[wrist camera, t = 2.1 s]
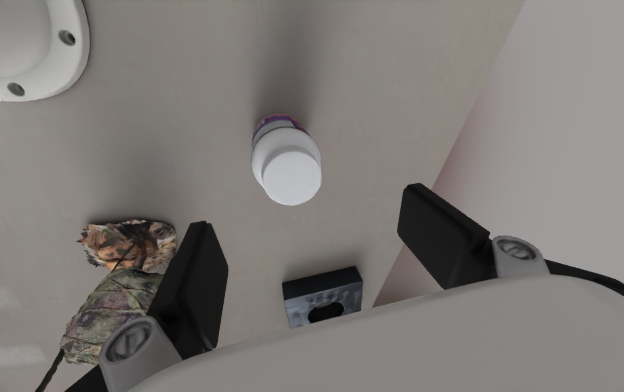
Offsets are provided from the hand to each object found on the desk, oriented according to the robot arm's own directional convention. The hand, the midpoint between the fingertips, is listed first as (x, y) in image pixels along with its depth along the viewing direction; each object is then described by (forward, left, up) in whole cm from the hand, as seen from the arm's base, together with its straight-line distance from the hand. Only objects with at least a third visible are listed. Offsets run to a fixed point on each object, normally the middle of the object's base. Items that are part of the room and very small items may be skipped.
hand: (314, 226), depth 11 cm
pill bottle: (0, 0, -15) cm, 15 cm away
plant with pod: (+10, -17, -15) cm, 25 cm away
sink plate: (+28, +3, -15) cm, 31 cm away
